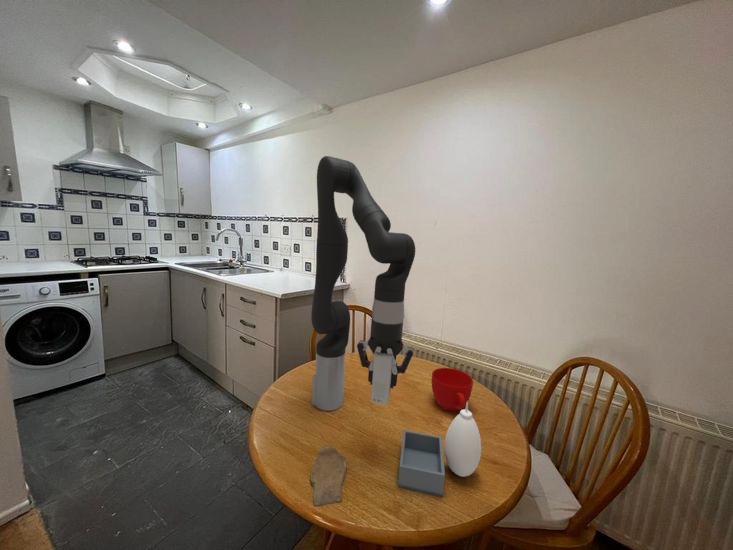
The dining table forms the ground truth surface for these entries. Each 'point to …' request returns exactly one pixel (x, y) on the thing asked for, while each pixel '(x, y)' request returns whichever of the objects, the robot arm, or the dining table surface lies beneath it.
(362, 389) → the dining table surface
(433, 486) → the bin
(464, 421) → the sauce bottle
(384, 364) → the skincare box
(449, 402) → the ceramic cup
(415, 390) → the dining table surface
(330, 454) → the pottery shard
